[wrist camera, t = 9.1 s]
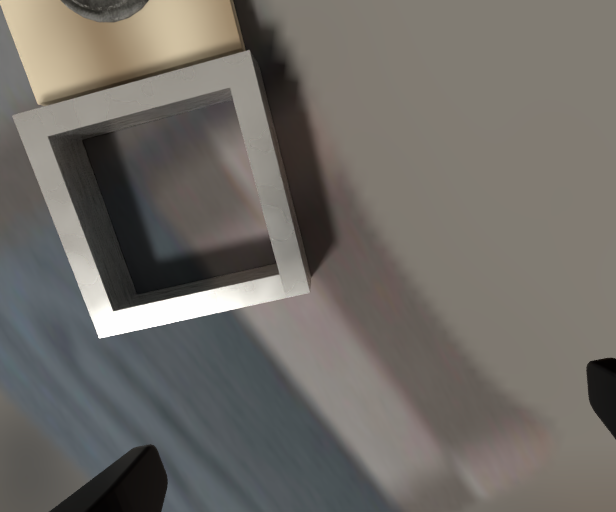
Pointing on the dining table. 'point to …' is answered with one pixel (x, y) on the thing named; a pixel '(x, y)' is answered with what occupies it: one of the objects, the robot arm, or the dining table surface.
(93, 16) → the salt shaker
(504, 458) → the dining table surface
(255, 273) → the grey square frame
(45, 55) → the wooden square board
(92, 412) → the dining table surface
